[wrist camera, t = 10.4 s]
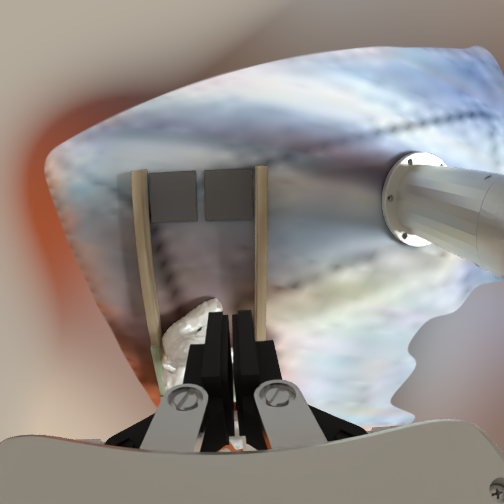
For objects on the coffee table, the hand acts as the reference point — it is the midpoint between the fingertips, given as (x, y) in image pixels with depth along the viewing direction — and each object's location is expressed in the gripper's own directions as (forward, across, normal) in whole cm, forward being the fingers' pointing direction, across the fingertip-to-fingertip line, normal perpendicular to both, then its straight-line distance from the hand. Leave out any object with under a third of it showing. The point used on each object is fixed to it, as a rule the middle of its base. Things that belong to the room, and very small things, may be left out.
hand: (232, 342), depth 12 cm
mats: (+24, +3, -3) cm, 24 cm away
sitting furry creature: (+24, +5, +14) cm, 28 cm away
